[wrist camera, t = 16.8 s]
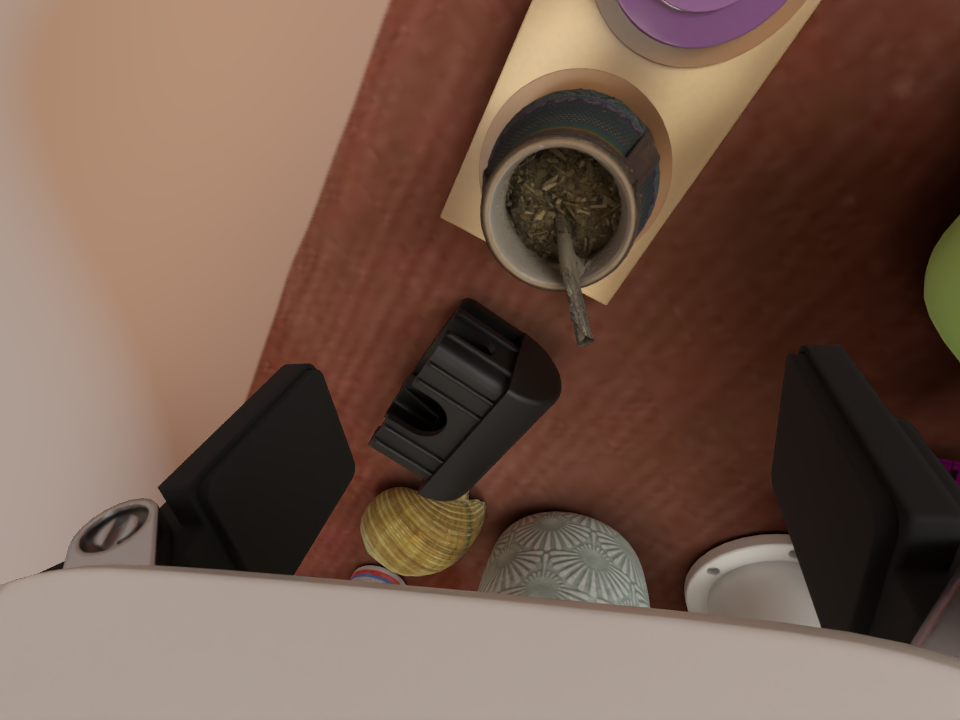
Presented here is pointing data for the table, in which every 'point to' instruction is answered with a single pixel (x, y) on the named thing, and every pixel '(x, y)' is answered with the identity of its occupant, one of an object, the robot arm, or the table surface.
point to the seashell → (419, 530)
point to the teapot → (945, 287)
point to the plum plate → (697, 19)
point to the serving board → (627, 96)
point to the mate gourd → (569, 193)
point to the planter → (565, 561)
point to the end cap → (467, 402)
